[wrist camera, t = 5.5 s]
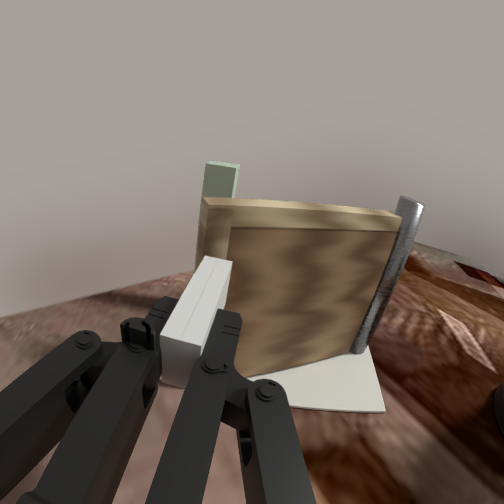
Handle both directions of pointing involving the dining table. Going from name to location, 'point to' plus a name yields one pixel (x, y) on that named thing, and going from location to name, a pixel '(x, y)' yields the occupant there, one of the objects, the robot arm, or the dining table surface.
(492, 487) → the dining table surface
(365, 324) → the hinge post
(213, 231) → the gate
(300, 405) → the mat
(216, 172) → the latch post
